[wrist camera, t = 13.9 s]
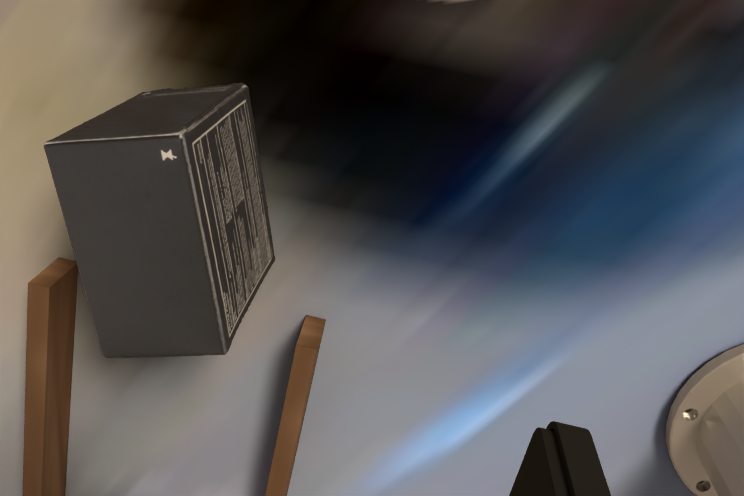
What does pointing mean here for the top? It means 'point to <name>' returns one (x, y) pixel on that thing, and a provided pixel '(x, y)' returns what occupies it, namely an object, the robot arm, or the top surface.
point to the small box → (166, 219)
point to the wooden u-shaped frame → (54, 376)
